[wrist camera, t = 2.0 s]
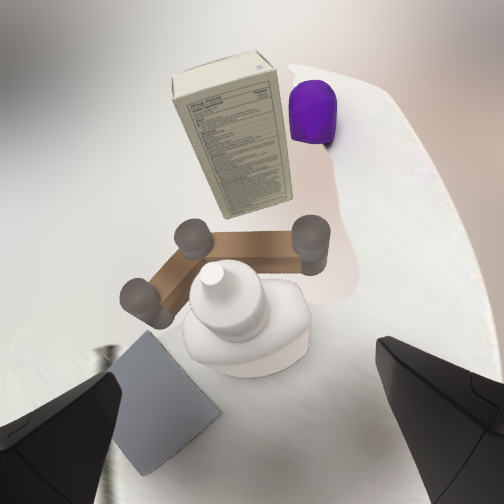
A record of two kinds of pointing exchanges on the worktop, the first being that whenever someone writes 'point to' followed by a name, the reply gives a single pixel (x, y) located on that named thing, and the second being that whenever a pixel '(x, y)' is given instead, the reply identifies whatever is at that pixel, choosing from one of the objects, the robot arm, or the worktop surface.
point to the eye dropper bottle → (245, 321)
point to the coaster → (156, 405)
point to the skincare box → (236, 130)
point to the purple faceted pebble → (312, 112)
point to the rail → (221, 248)
